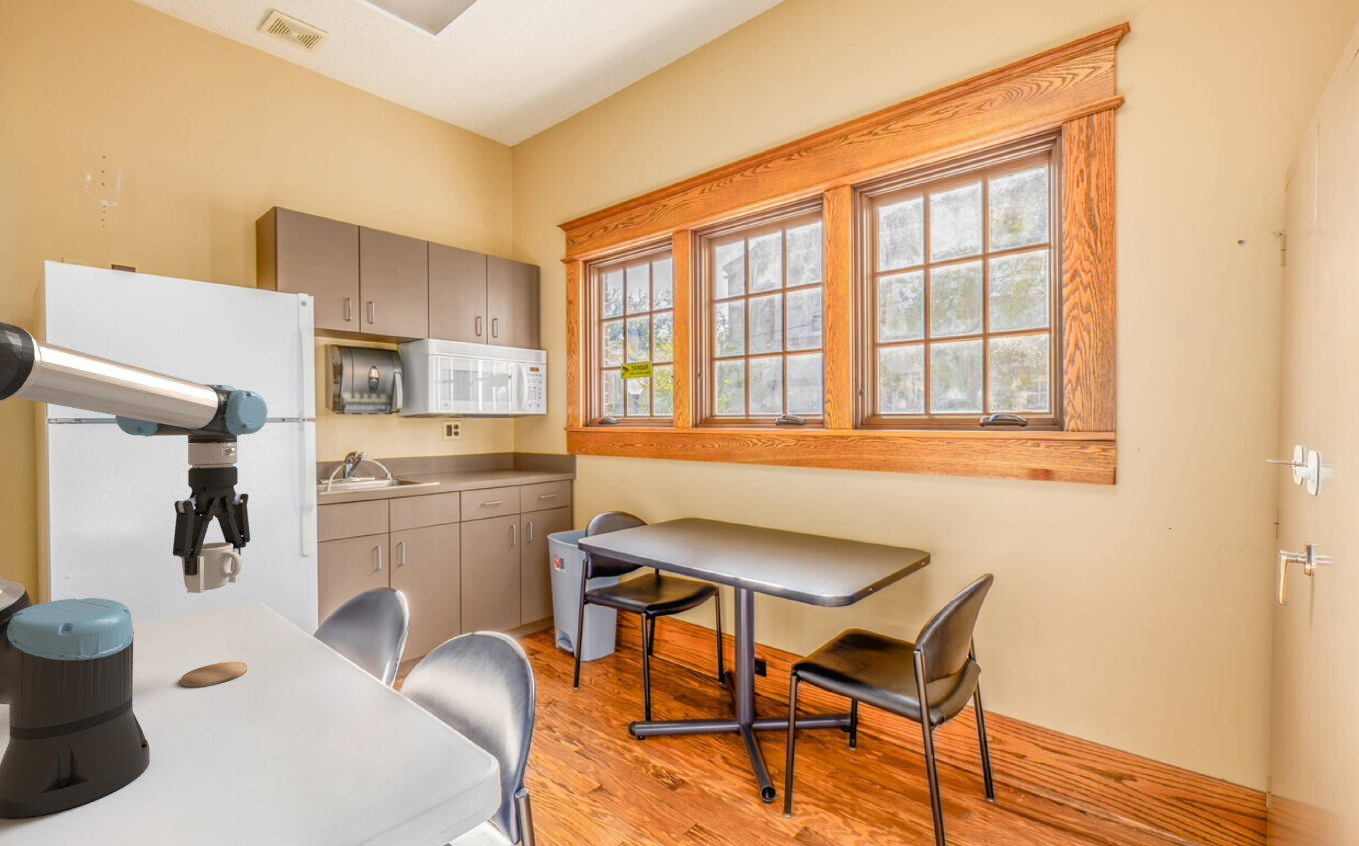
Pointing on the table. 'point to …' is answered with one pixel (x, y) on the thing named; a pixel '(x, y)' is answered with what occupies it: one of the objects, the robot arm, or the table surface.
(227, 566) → the cup
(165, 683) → the table surface
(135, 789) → the table surface
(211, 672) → the coaster
